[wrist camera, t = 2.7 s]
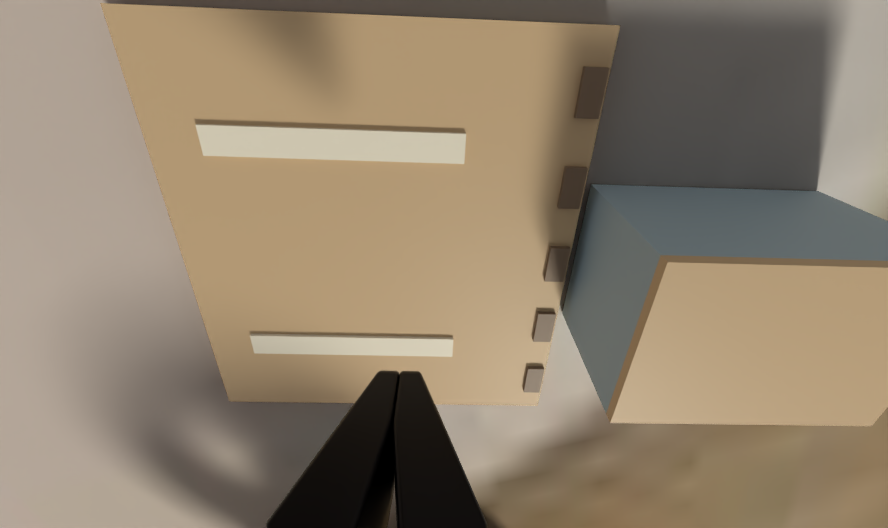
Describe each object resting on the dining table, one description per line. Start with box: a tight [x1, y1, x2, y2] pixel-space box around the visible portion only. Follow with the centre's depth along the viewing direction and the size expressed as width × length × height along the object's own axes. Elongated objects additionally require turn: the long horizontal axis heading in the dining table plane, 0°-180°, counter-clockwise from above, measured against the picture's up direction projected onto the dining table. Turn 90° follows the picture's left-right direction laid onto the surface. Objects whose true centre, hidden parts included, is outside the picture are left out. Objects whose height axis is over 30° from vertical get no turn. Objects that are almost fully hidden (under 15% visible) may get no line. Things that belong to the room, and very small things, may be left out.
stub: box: [562, 184, 888, 426], centre depth 12 cm, size 7×5×5 cm
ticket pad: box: [100, 3, 620, 406], centre depth 13 cm, size 12×13×1 cm
